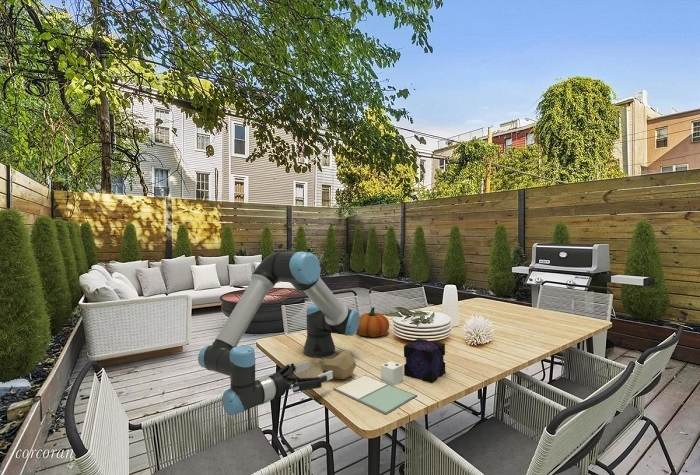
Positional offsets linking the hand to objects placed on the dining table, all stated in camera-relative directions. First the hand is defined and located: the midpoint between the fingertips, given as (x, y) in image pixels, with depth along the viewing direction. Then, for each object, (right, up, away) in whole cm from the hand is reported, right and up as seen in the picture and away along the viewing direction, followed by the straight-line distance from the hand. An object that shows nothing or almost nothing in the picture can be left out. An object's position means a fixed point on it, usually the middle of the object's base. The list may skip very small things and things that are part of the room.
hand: (320, 369), depth 129 cm
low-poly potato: (+7, -6, +7) cm, 11 cm away
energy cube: (+41, -5, +8) cm, 43 cm away
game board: (+20, -6, -7) cm, 22 cm away
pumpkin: (+24, -5, +64) cm, 68 cm away
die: (+28, -6, +3) cm, 28 cm away
